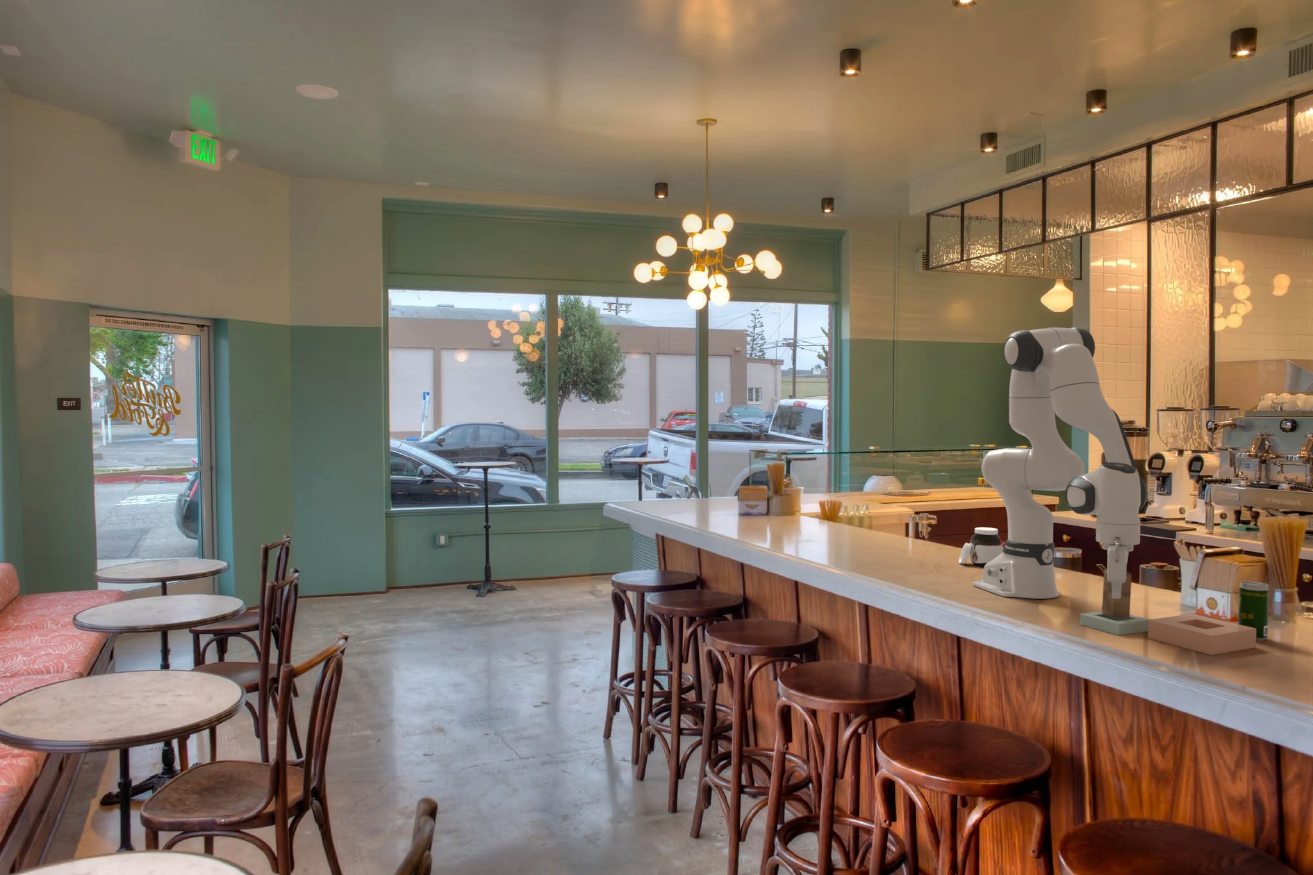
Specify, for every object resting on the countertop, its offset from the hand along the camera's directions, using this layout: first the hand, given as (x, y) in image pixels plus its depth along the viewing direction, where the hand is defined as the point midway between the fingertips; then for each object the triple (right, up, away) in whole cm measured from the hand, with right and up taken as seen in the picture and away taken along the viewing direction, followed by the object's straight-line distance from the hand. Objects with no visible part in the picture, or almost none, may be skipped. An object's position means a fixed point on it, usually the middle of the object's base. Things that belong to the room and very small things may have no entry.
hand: (1116, 594), depth 196 cm
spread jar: (-3, -5, +76) cm, 76 cm away
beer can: (+25, -8, -9) cm, 28 cm away
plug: (0, -5, 0) cm, 5 cm away
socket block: (+11, -8, -12) cm, 19 cm away
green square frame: (-1, -8, 0) cm, 8 cm away
